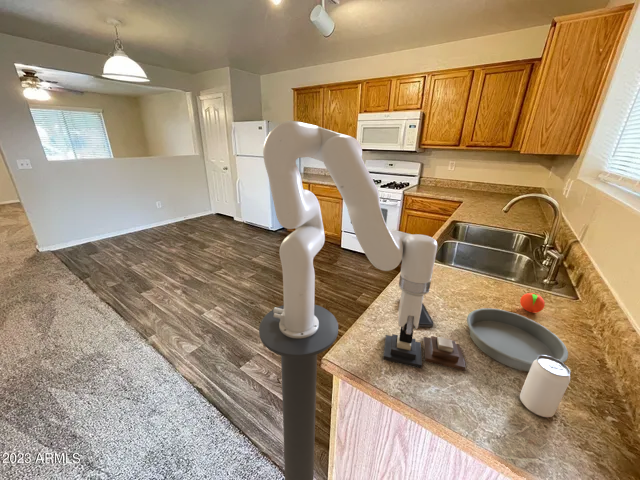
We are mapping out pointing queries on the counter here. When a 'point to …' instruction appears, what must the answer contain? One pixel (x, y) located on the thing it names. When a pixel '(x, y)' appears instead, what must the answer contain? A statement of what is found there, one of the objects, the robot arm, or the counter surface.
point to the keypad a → (402, 352)
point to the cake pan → (513, 338)
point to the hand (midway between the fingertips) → (405, 340)
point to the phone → (425, 318)
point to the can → (545, 386)
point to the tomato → (532, 302)
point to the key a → (403, 344)
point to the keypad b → (443, 354)
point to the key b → (444, 344)
